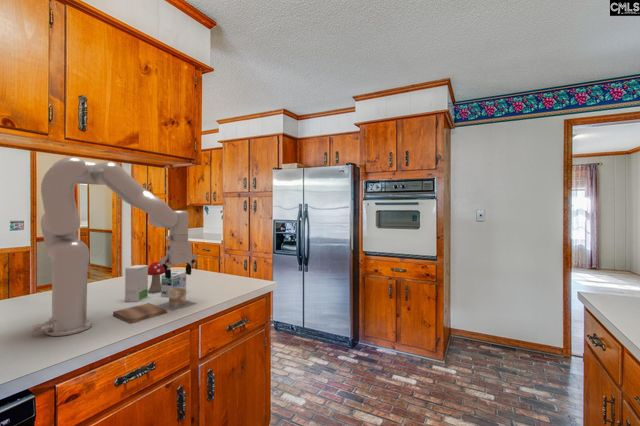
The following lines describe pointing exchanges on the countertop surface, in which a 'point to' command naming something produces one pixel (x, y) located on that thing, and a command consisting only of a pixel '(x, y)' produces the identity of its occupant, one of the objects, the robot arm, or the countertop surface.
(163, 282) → the light bulb box
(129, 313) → the walnut board
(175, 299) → the birch block
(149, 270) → the decorative mushroom
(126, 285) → the skincare box
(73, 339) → the countertop surface
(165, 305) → the mat
